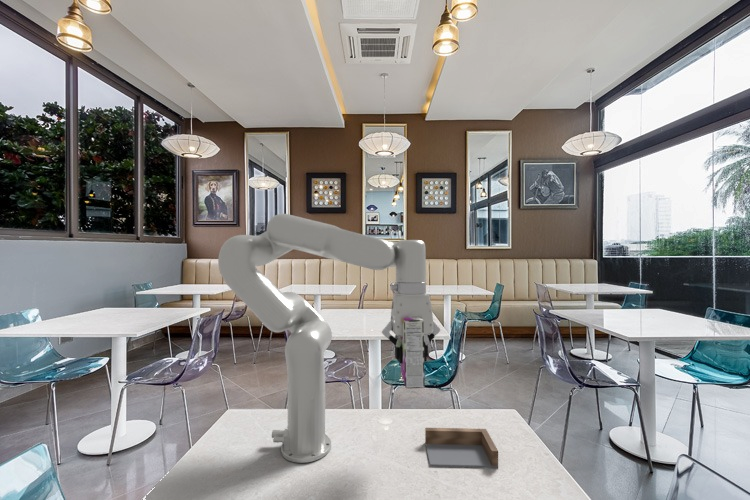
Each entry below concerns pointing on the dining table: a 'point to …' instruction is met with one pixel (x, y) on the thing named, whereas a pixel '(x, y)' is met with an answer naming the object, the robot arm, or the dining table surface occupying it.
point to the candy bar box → (413, 353)
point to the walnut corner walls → (463, 439)
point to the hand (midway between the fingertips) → (411, 360)
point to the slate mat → (457, 456)
